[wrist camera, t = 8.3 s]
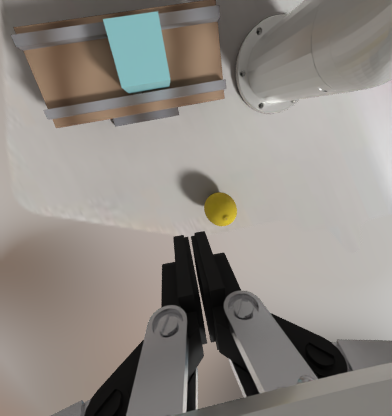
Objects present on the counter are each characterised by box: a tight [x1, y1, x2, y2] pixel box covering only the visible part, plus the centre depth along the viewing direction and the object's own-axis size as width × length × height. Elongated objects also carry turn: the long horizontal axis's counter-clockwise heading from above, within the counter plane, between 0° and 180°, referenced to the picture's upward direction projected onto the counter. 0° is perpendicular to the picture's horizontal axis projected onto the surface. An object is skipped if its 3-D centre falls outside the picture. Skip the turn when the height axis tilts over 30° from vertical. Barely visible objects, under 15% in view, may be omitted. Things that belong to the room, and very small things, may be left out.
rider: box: [103, 11, 170, 94], centre depth 22 cm, size 5×5×5 cm
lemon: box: [204, 192, 237, 226], centre depth 36 cm, size 6×6×8 cm
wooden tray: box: [11, 0, 226, 128], centre depth 26 cm, size 22×12×7 cm, turn 99°
